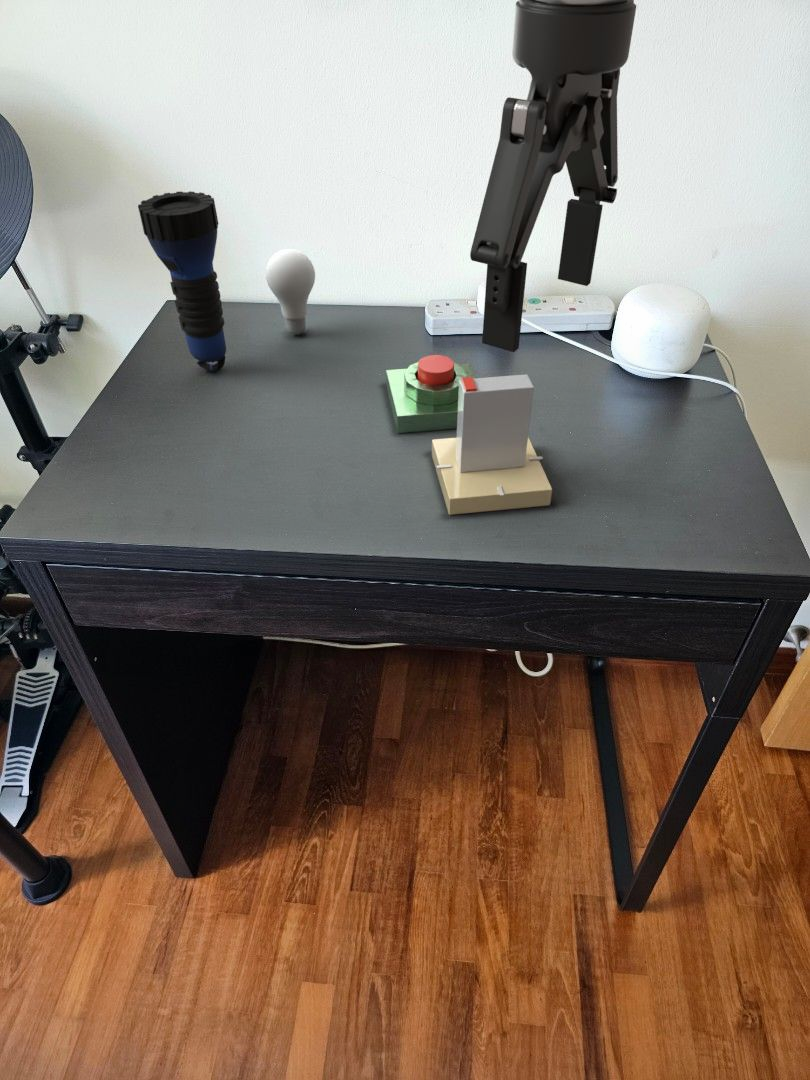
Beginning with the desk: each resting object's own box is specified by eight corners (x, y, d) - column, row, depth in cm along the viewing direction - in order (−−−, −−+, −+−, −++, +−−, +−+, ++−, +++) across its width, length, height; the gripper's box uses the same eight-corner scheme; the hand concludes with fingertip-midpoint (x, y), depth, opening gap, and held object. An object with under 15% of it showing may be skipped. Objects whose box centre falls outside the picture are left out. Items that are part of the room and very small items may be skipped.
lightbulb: (266, 342, 102) (255, 258, 95) (282, 321, 106) (272, 239, 99) (311, 347, 101) (303, 262, 94) (325, 325, 105) (319, 243, 98)
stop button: (456, 385, 87) (457, 371, 85) (420, 388, 86) (420, 374, 85) (450, 367, 90) (450, 353, 88) (415, 370, 89) (415, 356, 88)
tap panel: (554, 507, 76) (557, 489, 75) (445, 517, 75) (446, 500, 74) (526, 444, 84) (528, 427, 83) (427, 453, 83) (428, 436, 82)
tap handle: (518, 453, 80) (527, 371, 74) (524, 467, 78) (534, 384, 72) (455, 458, 79) (459, 377, 73) (460, 472, 77) (464, 390, 71)
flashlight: (177, 357, 99) (140, 191, 86) (241, 352, 100) (214, 187, 87) (174, 390, 93) (134, 217, 80) (242, 384, 94) (213, 212, 81)
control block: (487, 426, 87) (489, 394, 84) (397, 433, 86) (397, 401, 83) (469, 379, 94) (470, 349, 92) (386, 386, 93) (385, 356, 91)
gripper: (597, -33, 59) (561, 249, 73) (420, 17, 43) (417, 364, 57) (697, -26, 56) (639, 267, 70) (546, 30, 40) (510, 393, 54)
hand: (539, 311), depth 64 cm, fingers open, 13 cm apart
